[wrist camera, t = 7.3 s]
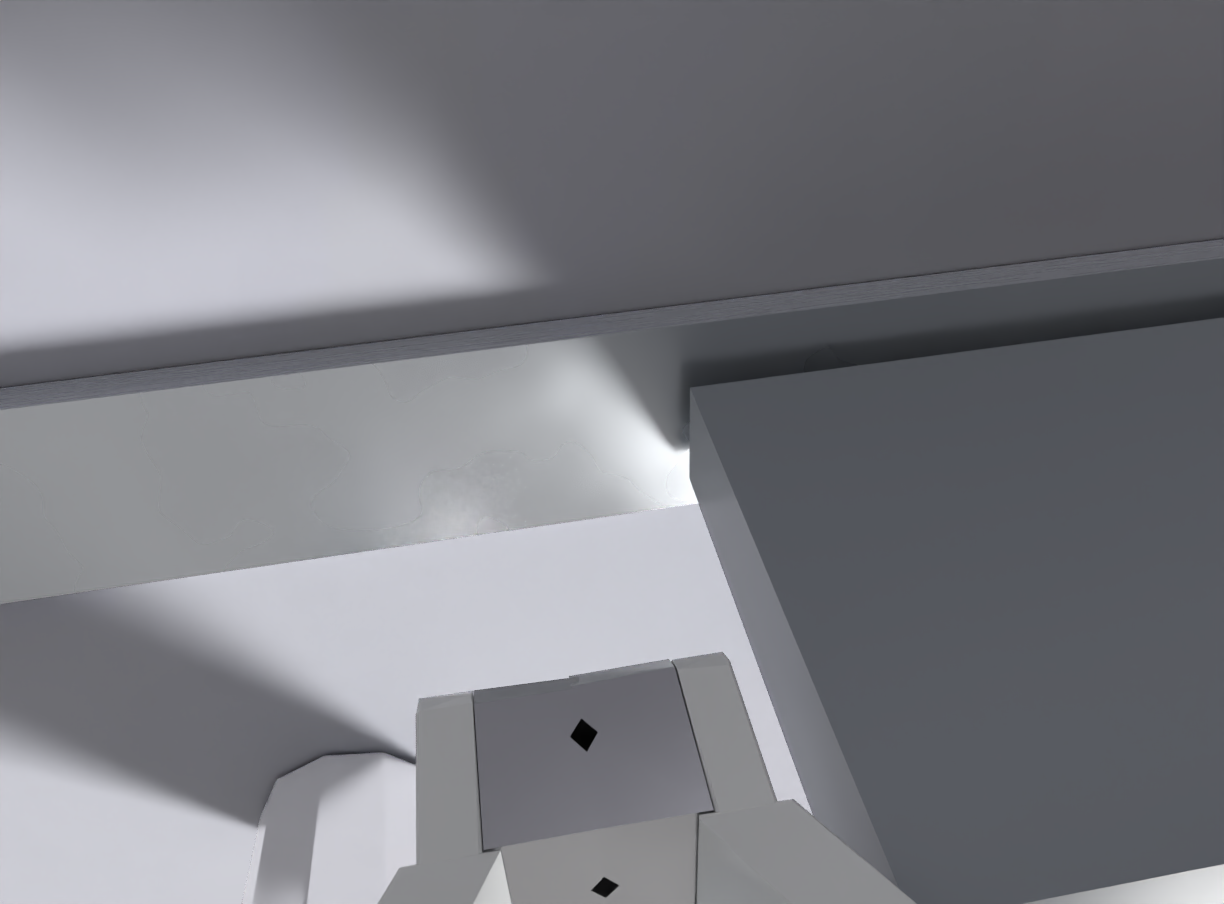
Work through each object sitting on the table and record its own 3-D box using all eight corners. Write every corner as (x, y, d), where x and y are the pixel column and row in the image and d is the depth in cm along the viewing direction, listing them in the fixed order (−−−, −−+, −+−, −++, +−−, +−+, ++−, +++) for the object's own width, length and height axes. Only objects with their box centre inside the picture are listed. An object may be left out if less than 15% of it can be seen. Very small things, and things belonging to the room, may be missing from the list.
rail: (2163, 124, 15) (2209, 134, 15) (2001, 295, 17) (2039, 310, 17) (-866, 493, 11) (-913, 524, 10) (-639, 670, 13) (-672, 701, 12)
